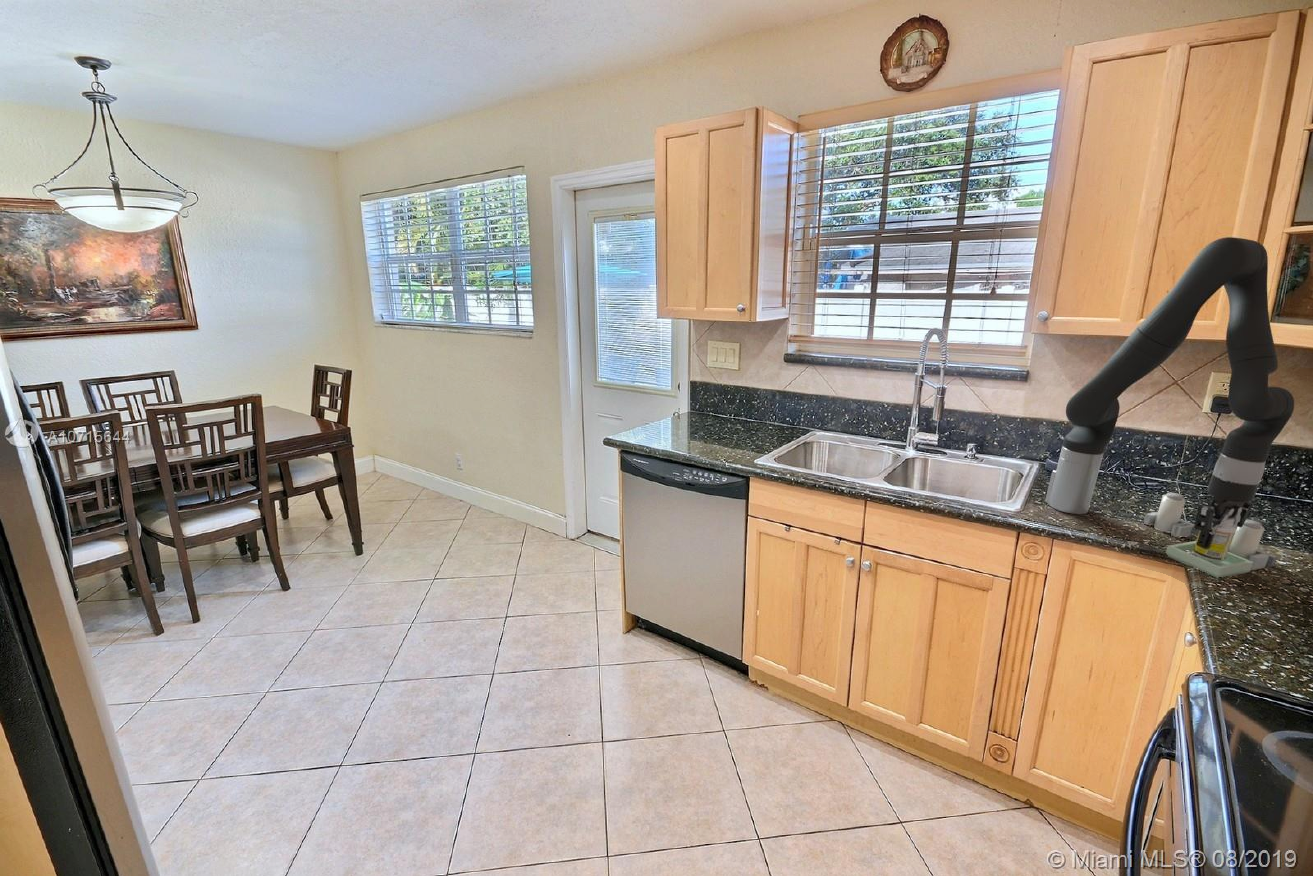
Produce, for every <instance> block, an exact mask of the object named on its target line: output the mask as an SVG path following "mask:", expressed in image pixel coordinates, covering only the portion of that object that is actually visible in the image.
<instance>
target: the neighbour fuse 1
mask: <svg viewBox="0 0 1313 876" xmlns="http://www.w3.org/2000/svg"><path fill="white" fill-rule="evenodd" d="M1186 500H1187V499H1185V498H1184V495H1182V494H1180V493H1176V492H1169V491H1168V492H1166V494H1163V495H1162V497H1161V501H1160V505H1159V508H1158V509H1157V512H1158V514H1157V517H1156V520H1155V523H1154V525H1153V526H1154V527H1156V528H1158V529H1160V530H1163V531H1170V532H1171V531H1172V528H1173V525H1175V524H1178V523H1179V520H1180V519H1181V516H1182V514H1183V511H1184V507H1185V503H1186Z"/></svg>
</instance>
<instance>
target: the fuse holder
mask: <svg viewBox="0 0 1313 876" xmlns="http://www.w3.org/2000/svg"><path fill="white" fill-rule="evenodd" d="M1157 514H1158V511H1155V512H1148V513H1145V515H1144V519H1143V522H1144V523H1145V524H1148V525H1150V524H1154V523H1155V520H1156V517H1157ZM1194 525H1195V523H1191V522H1189V521H1186V520H1184V519H1181V518H1180V520H1179V523H1178V524H1175V525H1173V528H1172V531H1171V534H1173V535H1175V536H1189V537H1190V536H1191V535H1190V533H1191V534H1194V535H1196V536H1198V535H1199V532H1200V530H1198V529H1195V528H1194ZM1278 558H1279V557H1278V556H1277V555H1274V554H1271V553H1270V552H1269V553H1268V552H1267V551H1264V550H1262V549H1258V548H1257V550H1256V553H1255V555H1252V556H1250V559H1249V561H1252V562H1253V565H1252V567H1251V570H1250V571H1255V570H1260V569H1264V568H1266V566H1267V567H1269V568H1271V567H1275V565H1276V563H1277V559H1278Z"/></svg>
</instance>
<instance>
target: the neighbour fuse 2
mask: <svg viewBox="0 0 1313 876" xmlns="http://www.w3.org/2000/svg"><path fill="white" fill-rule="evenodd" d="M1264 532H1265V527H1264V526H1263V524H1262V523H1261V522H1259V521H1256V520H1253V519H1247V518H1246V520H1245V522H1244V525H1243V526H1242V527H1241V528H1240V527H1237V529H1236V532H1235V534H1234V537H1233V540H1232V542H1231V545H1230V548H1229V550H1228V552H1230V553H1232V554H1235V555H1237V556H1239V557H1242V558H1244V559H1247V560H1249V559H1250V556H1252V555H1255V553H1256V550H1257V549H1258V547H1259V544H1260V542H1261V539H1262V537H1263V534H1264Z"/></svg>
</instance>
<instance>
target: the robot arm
mask: <svg viewBox="0 0 1313 876" xmlns="http://www.w3.org/2000/svg"><path fill="white" fill-rule="evenodd" d="M1268 258H1269V257H1268V252H1267V249H1266V248H1265V246H1264V245H1263V244H1262V243H1260V242H1258V241H1256V240H1254V239H1253V240H1252V239H1247V238H1242V237H1241V238H1240V237H1232V236H1229V237H1228V236H1226V237H1222V238H1218V239H1216V240H1214V241H1212V242H1210V243H1208V244H1207V245H1206V246H1205V247H1204V248H1202V250H1200V252H1198V254H1197V255H1196V256H1195V258H1194V259H1193V260H1192V261H1191V262H1190V264H1189V266H1188V267H1187V269H1186V270H1185V271H1184V272H1183V274H1182V275H1181V276H1180V278H1178V281H1177V282H1176V283H1175V285H1174V286H1173V287H1172V288H1171V290H1170V291H1169V292H1168V293H1167V294H1166V296H1165V297H1164V298H1162V300H1161V301H1160V302H1159V303H1158V304H1157V305H1156V306H1155V308H1154V309H1153V310H1152V311H1151V312H1150V313H1149V315H1147V317H1146V318H1145V319H1144V320H1143V321H1142V322H1140V324H1139V325H1138V326H1137V327H1136V328H1135V329H1134V331H1132V333H1131V334H1130V335H1129V336H1128V337H1127V338H1126V340H1125V341H1124V342H1123V344H1122V345H1121V346H1120V347H1119V348H1118V349H1117V350H1116V351H1115V353H1114V354H1113V355H1112V356H1111V357H1110V358H1109V360H1108V361H1107V362H1106V363H1105V364H1104V366H1103V367H1102V368H1101V369H1100V370H1099V371H1098V373H1096V375H1095V376H1094V377H1092V378H1091V380H1089V381H1088V382H1087V383H1086V384H1085V385H1084V386H1082V388H1081V389H1079V390H1078V391H1077V392H1076V393H1074V395H1073V396H1071V398H1070V399H1069V400H1068V402H1067V403H1066V407H1065V415H1066V418H1067V420H1068V422H1070V423H1071V424H1072V425H1073V427H1072V429H1071V430H1070V431H1069V432H1068V433H1067V434H1066V435H1065V436H1064V438H1063V441H1062V445H1061V451H1060V453H1059V458H1058V461H1057V462H1058V463H1057V466H1056V469H1054V470H1052V471H1051V475H1050V480H1049V482H1048V483H1049V484H1048V487H1047V493H1046V496H1045V500H1044V502H1045V503H1046V504H1048V506H1050V507H1051V508H1052V509H1055V510H1058V511H1060V512H1063V513H1068V514H1072V515H1085V514H1088V512H1089V509H1090V506H1091V505H1090V504H1091V502H1092V498H1093V493H1094V491H1095V486H1096V482H1097V479H1098V476H1099V471H1100V468H1101V465H1102V460H1103V457H1104V453H1105V449H1106V447H1107V446H1108V445H1109V443H1110V441H1111V439H1112V437H1113V434H1114V431H1115V428H1116V424H1117V421H1118V418H1119V414H1120V410H1121V409H1120V402H1119V399H1118V398H1119V397H1120V396H1121V395H1123V393H1124V392H1125V391H1126V390H1127V389H1129V388H1130V387H1131V386H1132V385H1134V384H1136V383H1137V382H1138V381H1140V380H1141V379H1143V378H1144V377H1146V376H1147V375H1149V374H1151V372H1153V371H1154V370H1155V369H1158V367H1159V366H1161V365H1162V364H1163V363H1164V362H1165V361H1166V360H1168V358H1169V357H1170V356H1171V355H1173V353H1174V352H1175V351H1176V350H1178V348H1179V347H1180V346H1182V344H1183V342H1184V341H1185V340H1186V339H1187V337H1188V336H1189V335H1190V334H1189V333H1190V331H1191V329H1192V327H1193V325H1194V322H1195V319H1196V318H1197V316H1198V313H1199V312H1200V310H1201V308H1202V307H1203V306H1204V305H1205V303H1207V302H1208V300H1209V299H1211V298H1212V297H1213V296H1214V294H1215V293H1216V292H1218V290H1220V289H1221V288H1222V287H1224V289H1225V292H1226V294H1227V295H1226V296H1227V298H1228V303H1229V315H1228V317H1229V319H1228V323H1227V327H1226V333H1225V334H1226V335H1225V346H1226V352H1227V356H1228V361H1229V366H1230V370H1231V375H1230V377H1229V387H1228V396H1227V397H1228V406H1229V409H1230V410H1231V412H1232V414H1233V415H1234V416H1235V417H1236V418H1238V419H1240V420H1243V422H1242V424H1241V425H1240V426H1238V427H1236V428H1234V429H1232V430H1231V431H1229V433H1228V434H1227V436H1226V438H1225V441H1224V444H1223V447H1222V450H1221V453H1220V454H1219V456H1218V459H1217V460H1216V462H1215V466H1214V469H1213V472H1212V475H1211V477H1210V480H1209V483H1208V486H1207V488H1206V489H1207V492H1208V494H1210V495H1211V496H1212V498H1211V500H1210V501H1209V503H1208V505H1206V506H1205V505H1202V504H1200V505H1199V506H1198V507H1197V511H1196V517H1195V521H1194V524H1195V525H1194V528H1195V529H1198V530H1200V531H1201V532H1200V535H1199V538H1198V540H1197V539H1196V540H1197V543H1196V544H1197V546H1199V547H1201V548H1204V549H1209V548H1210V545H1211V542H1212V540H1213V537H1214V533H1215V532H1216V530H1217V529H1218V527H1219V526H1223V524H1224V523H1225V521H1226V520H1227V518H1234V524H1233V526H1234V527H1235V529H1237V527H1240V528H1241V527H1242V526H1243V525H1244V522H1245V520H1246V519H1247V518H1248V517H1249V515H1250V512H1251V510H1252V508H1253V506H1254V503H1251V502H1253V501H1254V499H1255V497H1256V493H1257V492H1258V489H1259V486H1260V482H1261V480H1262V478H1263V475H1264V472H1265V467H1266V462H1267V460H1268V457H1269V454H1270V451H1271V448H1272V444H1273V443H1274V440H1276V439H1277V437H1278V436H1279V435H1280V433H1281V432H1282V431H1283V429H1284V427H1285V426H1286V425H1287V424H1288V422H1289V421H1290V419H1291V417H1292V415H1293V412H1294V410H1295V398H1294V396H1293V394H1292V393H1291V391H1289V390H1287V389H1285V388H1283V387H1281V386H1269V375H1271V374H1273V373H1274V372H1276V371H1277V369H1278V367H1279V363H1278V362H1279V361H1278V355H1277V352H1276V347H1275V342H1274V337H1273V333H1272V328H1271V323H1270V315H1269V314H1270V313H1269V301H1268V300H1269V299H1268V273H1269V272H1268V271H1269V270H1268V268H1269V267H1268V266H1269V265H1268V264H1269V262H1268V261H1269V259H1268ZM1213 518H1215V519H1218V520H1219V521H1215V520H1213ZM1212 523H1213V526H1212V528H1211V525H1212Z"/></svg>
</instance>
